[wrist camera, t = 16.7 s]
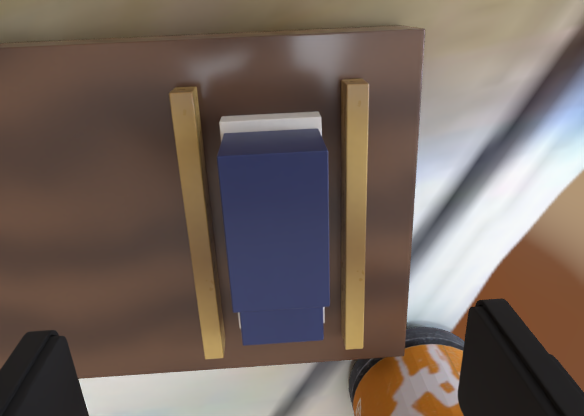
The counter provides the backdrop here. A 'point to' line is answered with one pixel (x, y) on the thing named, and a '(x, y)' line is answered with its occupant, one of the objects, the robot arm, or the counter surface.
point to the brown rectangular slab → (196, 191)
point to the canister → (411, 378)
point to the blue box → (276, 224)
